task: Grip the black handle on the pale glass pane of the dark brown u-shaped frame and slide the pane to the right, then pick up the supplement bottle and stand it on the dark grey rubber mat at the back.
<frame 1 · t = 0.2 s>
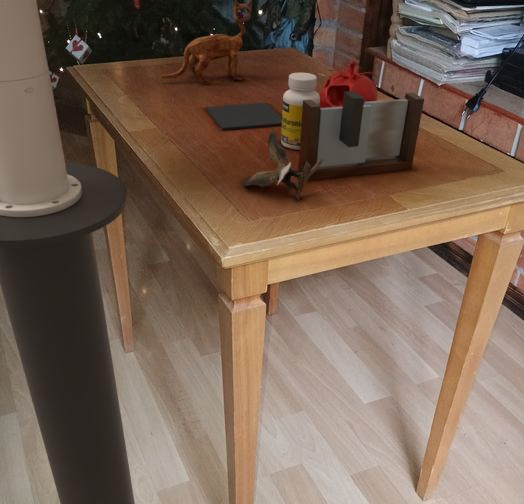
rubber mat: (245, 116, 103), on the table
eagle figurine: (277, 191, 80), on the table
dark brown u-shaped frame: (355, 171, 85), on the table
cat figurine: (206, 81, 120), on the table
pomegranate: (345, 120, 103), on the table
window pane: (348, 132, 79), point 6 cm above the table, slide at 0.0 cm
supplement bottle: (298, 145, 93), on the table
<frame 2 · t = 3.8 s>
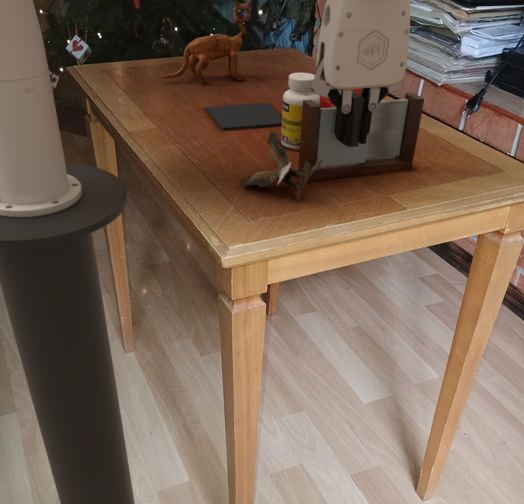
hand: (350, 140, 79), 6 cm above the table, tool pointing down, fingers closed
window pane: (348, 132, 79), point 6 cm above the table, slide at 0.0 cm, touching gripper
everything else where it was.
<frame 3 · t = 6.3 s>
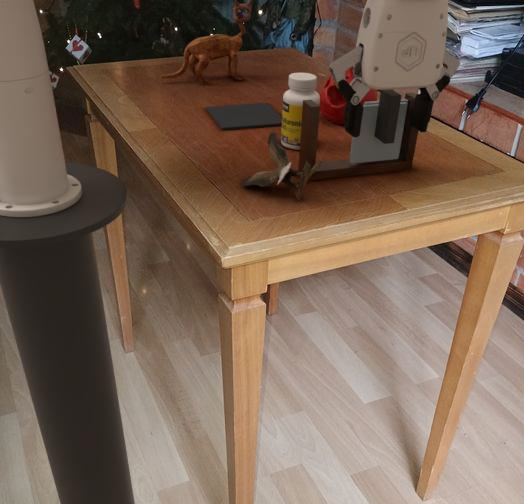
hand: (385, 131, 80), 6 cm above the table, tool pointing down, fingers open, 9 cm apart
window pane: (384, 129, 81), point 6 cm above the table, slide at 5.1 cm
everything else where it was.
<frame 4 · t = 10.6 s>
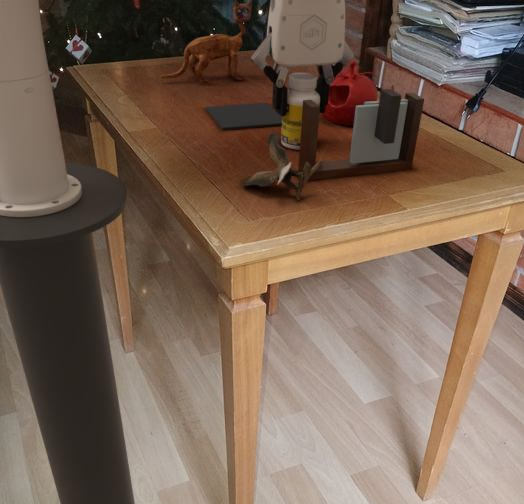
hand: (299, 110, 90), 5 cm above the table, tool pointing down, fingers closed on supplement bottle, 5 cm apart
supplement bottle: (298, 145, 93), on the table, touching gripper
everything else where it was.
when the fingers open (5 cm above the table, at t = 17.2 s): supplement bottle stays where it is, resting on rubber mat.
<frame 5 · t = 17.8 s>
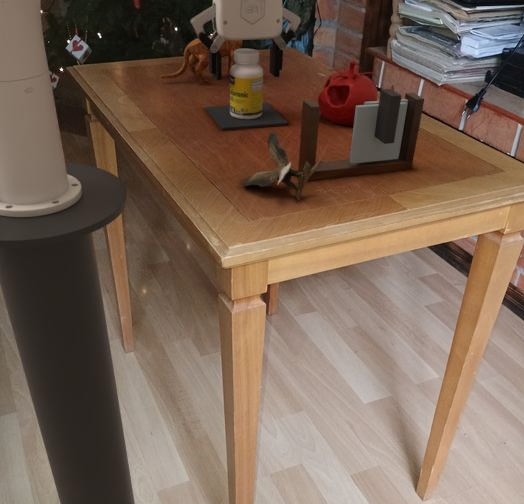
hand: (245, 76, 99), 6 cm above the table, tool pointing down, fingers open, 9 cm apart
supplement bottle: (246, 116, 102), resting on rubber mat
everything else where it was.
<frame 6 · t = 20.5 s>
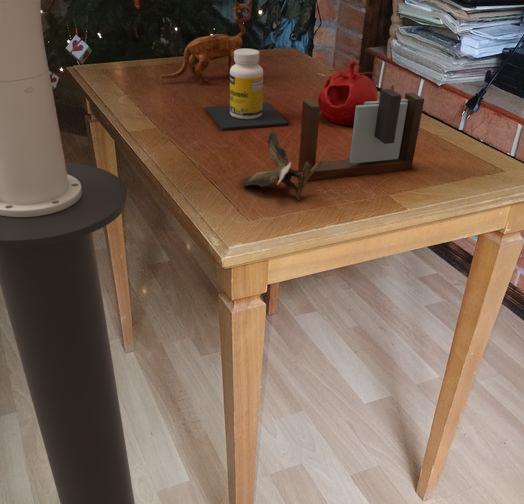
nothing on the table moved.
at the end: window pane slide at 5.1 cm; supplement bottle inside the target area on the rubber mat (0.3 cm from its centre), point 0.2 cm above the rubber mat's base; supplement bottle tilted 0° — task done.
